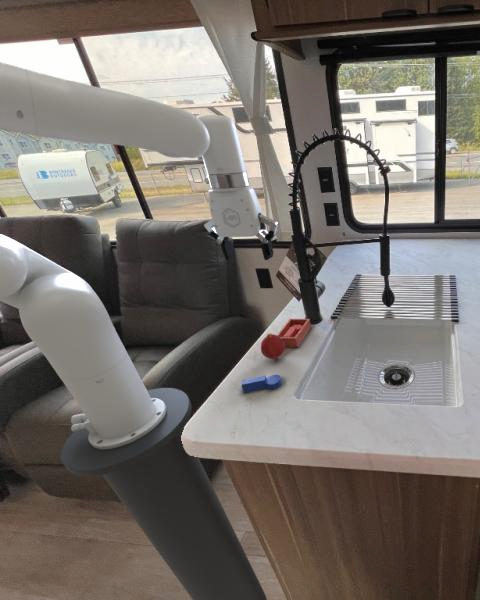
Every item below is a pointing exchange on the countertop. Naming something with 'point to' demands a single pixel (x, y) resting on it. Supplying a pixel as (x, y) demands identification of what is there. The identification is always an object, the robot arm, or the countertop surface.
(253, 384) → the blue spoon
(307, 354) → the countertop surface
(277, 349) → the onion
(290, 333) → the red spoon
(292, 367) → the countertop surface
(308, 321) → the red tub
